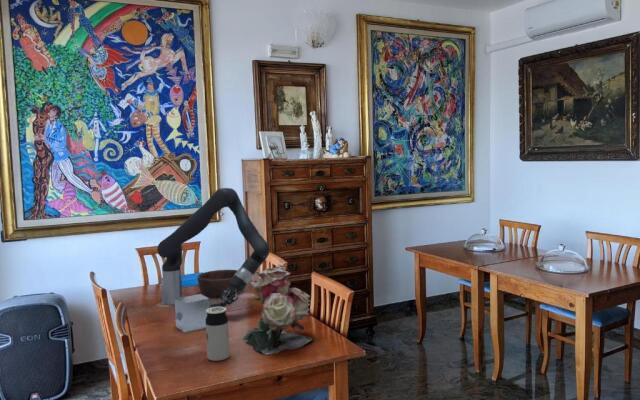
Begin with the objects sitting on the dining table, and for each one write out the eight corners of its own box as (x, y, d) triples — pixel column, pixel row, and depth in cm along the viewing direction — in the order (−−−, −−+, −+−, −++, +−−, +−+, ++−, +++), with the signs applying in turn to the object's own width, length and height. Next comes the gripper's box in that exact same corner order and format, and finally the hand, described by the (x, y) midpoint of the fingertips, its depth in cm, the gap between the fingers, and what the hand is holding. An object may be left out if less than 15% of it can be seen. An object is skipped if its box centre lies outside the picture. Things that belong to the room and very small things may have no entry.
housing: (184, 332, 219) (182, 303, 218) (176, 326, 228) (174, 298, 227) (210, 326, 226) (209, 298, 225) (202, 321, 234) (200, 293, 233)
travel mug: (230, 352, 195) (228, 305, 193) (227, 361, 187) (225, 312, 185) (209, 353, 195) (207, 306, 193) (205, 362, 187) (203, 313, 185)
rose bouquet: (268, 360, 187) (265, 278, 184) (236, 337, 211) (233, 265, 209) (328, 344, 200) (325, 268, 198) (291, 325, 225) (288, 256, 222)
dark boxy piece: (179, 330, 220) (178, 311, 220) (175, 327, 225) (174, 308, 225) (220, 321, 231) (219, 303, 230) (215, 318, 236) (214, 300, 235)
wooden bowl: (194, 291, 289) (193, 272, 288) (237, 285, 300) (236, 267, 299) (203, 301, 267) (202, 282, 266) (250, 294, 277) (249, 276, 276)
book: (161, 277, 308) (202, 271, 321) (161, 285, 309) (202, 278, 321) (168, 283, 294) (210, 276, 306) (168, 291, 294) (211, 283, 306)
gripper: (229, 272, 243) (206, 303, 237) (242, 277, 232) (218, 309, 226) (240, 281, 246) (218, 311, 240) (253, 286, 235) (230, 318, 230)
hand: (218, 310), depth 233 cm, fingers closed
